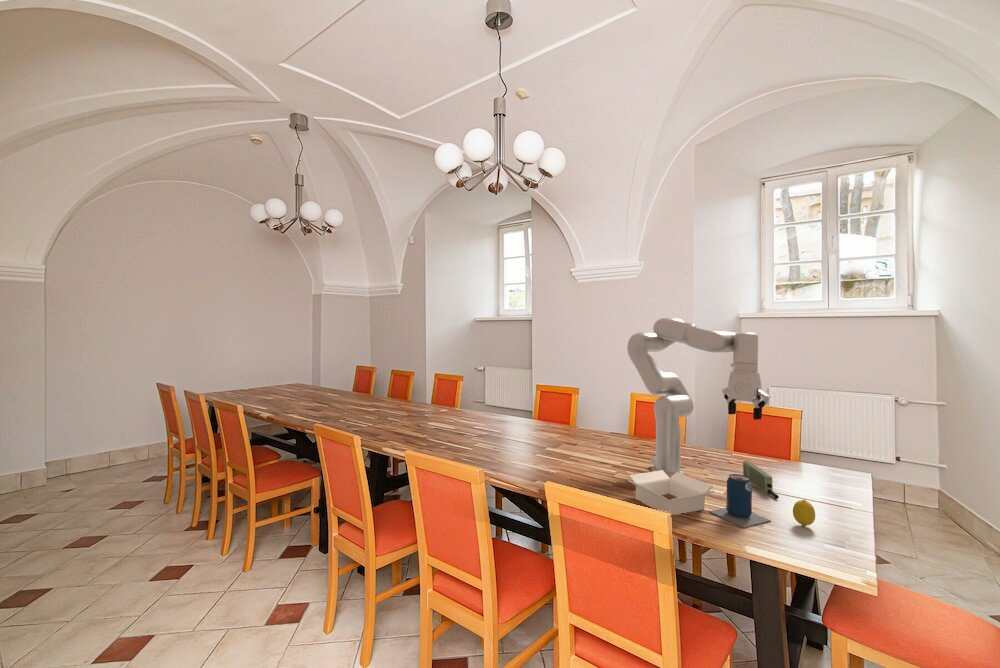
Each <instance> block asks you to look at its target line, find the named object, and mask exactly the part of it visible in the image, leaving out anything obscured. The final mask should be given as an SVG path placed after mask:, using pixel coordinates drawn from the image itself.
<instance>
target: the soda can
mask: <svg viewBox="0 0 1000 668" xmlns="http://www.w3.org/2000/svg"><path fill="white" fill-rule="evenodd" d="M752 496H753V483H752V482H751V481H750V478H749V477H747V476H744V475H743V474H740V473H739V474H736V473H731V474H729V475H728V478H727V480H726V502H725V503H726V507H725V508H726V509H727V511H728V513H729V515H731V516H732V517H735V518H739V519H748V518H749V517H750V515H751V514H752V513H753V512H752V510H753V509H752V508H753V504H752V502H753V497H752Z"/></svg>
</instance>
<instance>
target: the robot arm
mask: <svg viewBox="0 0 1000 668" xmlns="http://www.w3.org/2000/svg"><path fill="white" fill-rule="evenodd" d="M652 329H653V332H649V331H646V332H645V331H643V332H637V333H634V334H632V335H631V336H630V337H629V339H628V341H627V350H626V351H627V354H628V356H629V359H630V361H631V362H632V364H633V365H634V367H635V369H636V370H637V372H638V374H639V376H640V379H641V380H642V382H643V384H644V386H645V388H646V389H647V391H648V393H650V394H651V395H654V396H659V395H661V396H660V397H659V398H658V397H657V399H656V400H655V402H654V403H653V412H654V416H655V417H654V418H655V456H653V457H652V458H650V461H649V462H650V463H652V464H653V466H652V467H651V472H653V471H660V470H663V471H664V472H665V473H666V475H667V476H668V477H669V478H670V477H672V476H673V475H674V474H675V473H676V472H679V473H681V474H684V475H686V474H685V471H684V470H683V469H682V468H681V465H682V464H681V460H682V459H681V457H682V455H681V451H682V445H681V444H682V429H681V424H680V421H679V419H680V418H684V417H688V416H691V414H692V413H693V411H694V407H695V406H694V402H693V399H692V397H691V395H690V394H689V391H688V389H686V387H685V385H684V383H683V381H682V380H681V379H680V377H679V376H678V375H677V374H675V373H674V372H671V371H663V370H661V369H660V367H659V365H658V363H657V361H656V360H655V359H654V358H653V356H651V355H650V354H649V353H654V352H661V351H663V350H665V349H667V348H669V347H670V346H671V345H673V344H674V343H676V342H677V343H681V344H684V345H687V346H688V347H691V348H694V349H697V350H701V351H705V352H709V353H714V354H716V353H733V355H732V357H733V358H732V363H730V367H731V368H732V370H731V371H730V373H729V376H728V377H729V378H728V384H727V387H726V388H723V389H722V390H721V392H722V393H723V397H724V399H725V400H726V403H727V409H728V411H727V412H728V413H727V414H728V415H736V414H737V403H736V401H742V402H748V403H750V402H751V403H752V404H753V406H754V407H753V414H752V415H753V420H754V421H755V420H757V421H758V420H762V418H763V417H762V416H763V408H764V407H765V406H766V405H767V404H768V402H769V400H770V398H771V397H770V395H768V394H767V393H765V392H764V391H763V390H762V381H761V375H760V372H759V370H758V368H759V365H758V363H759V336H758V335H759V334H757V333H755V332H732V331H713V330H708V329H704V328H699V327H697V325H696V324H695V323H693V322H687V321H683V320H682V319H680V318H673V317H672V318H671V317H663V318H659V319H657V320H656V321H655V322H654V324H653V328H652Z"/></svg>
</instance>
